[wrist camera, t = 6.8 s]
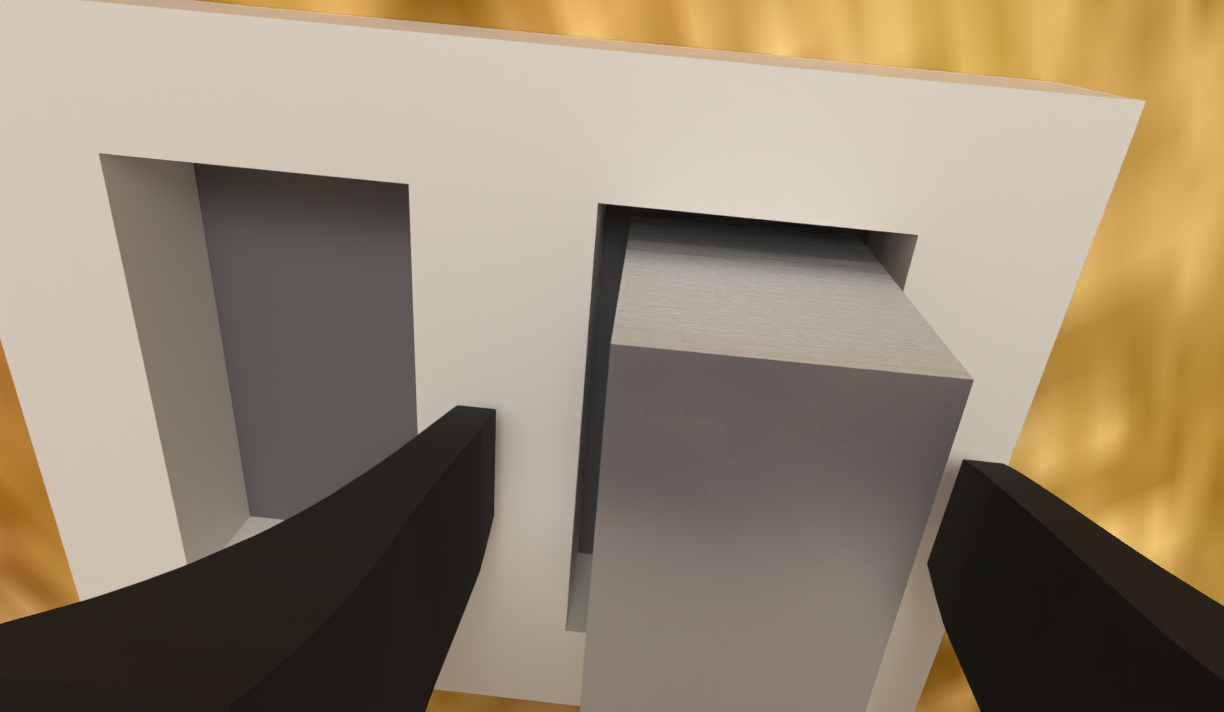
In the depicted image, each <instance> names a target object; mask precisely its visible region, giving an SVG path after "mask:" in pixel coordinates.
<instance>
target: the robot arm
mask: <svg viewBox="0 0 1224 712" xmlns="http://www.w3.org/2000/svg"><path fill="white" fill-rule="evenodd" d="M495 441H496V409H490V408H481V407H471V406H462V405H457V406H455V407H454V408H453V409H451V410H450V411H448V412H447V413H446V414H444V415H443V416H442V417H441V418H439V419H438V420H437V421H435V422H434V423H433V424H431V425H430V426H429V427H427V428H426V429H425V430H423V431H422V432H421V433H419V434H418V435H417V436H415V437H414V438H413V439H412V440H410V441H409V442H408V443H406V444H405V445H404V446H402V447H401V448H399V449H398V450H397V451H395V452H394V453H393V454H391V455H390V456H388V457H387V458H386V459H384V460H383V461H381V462H380V463H379V464H377V465H376V466H374V467H373V468H371V469H370V470H368V471H367V472H365V473H363V474H362V475H360V476H359V477H357V478H356V479H354V480H353V481H351V482H350V483H348V484H346V485H345V486H343V487H342V488H340V489H339V490H337V491H336V492H334V493H333V494H331V495H329V496H328V497H326V498H324V499H323V500H321V501H319V502H318V503H316V504H314V505H312V506H310V507H309V508H307V509H305V510H303V511H302V512H300V513H298V514H296V515H294V516H292V517H290V518H288V519H286V520H284V521H282V522H280V523H279V524H277V525H275V526H273V527H271V528H269V529H267V530H265V531H263V532H261V533H259V534H257V535H254V536H252V537H250V538H248V539H245V540H243V541H241V542H238V543H236V544H234V545H231V546H229V547H227V548H225V549H222V550H220V551H218V552H215V553H213V554H211V555H208V556H206V557H204V558H201V559H199V560H197V561H195V562H192V563H190V564H187V565H185V566H182V567H180V568H177V569H174V570H172V571H169V572H166V573H163V574H161V575H158V576H155V577H153V578H150V579H147V580H144V581H142V582H139V583H136V584H133V585H130V586H127V587H124V588H121V589H118V590H115V591H112V592H109V593H106V594H103V595H100V596H97V597H93V598H90V599H87V600H84V601H81V602H77V603H74V604H70V605H67V606H63V607H59V608H56V609H52V610H49V611H45V612H41V613H38V614H34V615H31V616H27V617H23V618H20V619H16V620H12V621H9V622H5V623H2V624H0V712H425V711H426V708H427V705H428V702H429V700H430V697H431V694H432V692H433V689H434V687H435V684H436V682H437V679H438V677H439V674H440V672H441V669H442V667H443V664H444V662H445V659H446V657H447V654H448V651H449V649H450V646H451V644H452V641H453V639H454V636H455V634H456V631H457V629H458V626H459V624H460V621H461V619H462V616H463V614H464V611H465V609H466V606H467V604H468V601H469V599H470V596H471V593H472V591H473V588H474V586H475V583H476V581H477V578H478V575H479V573H480V570H481V566H482V562H483V558H484V554H485V551H486V547H487V543H488V539H489V535H490V531H491V527H492V523H493V518H494V499H495ZM927 566H928V570H929V574H930V578H931V582H932V586H933V590H934V594H935V598H936V601H937V604H938V608H939V611H940V615H941V618H942V621H943V624H944V627H945V629H946V632H947V634H948V637H949V639H950V641H951V644H952V646H953V648H954V651H955V653H956V655H957V658H958V660H959V662H960V665H961V667H962V669H963V672H964V674H965V676H966V679H967V681H968V683H969V685H970V688H971V690H972V692H973V695H974V697H975V699H976V701H977V704H978V706H979V708H980V710H981V712H1224V606H1223V605H1221V604H1219V603H1218V602H1216V601H1214V600H1213V599H1211V598H1209V597H1208V596H1206V595H1205V594H1203V593H1201V592H1200V591H1198V590H1197V589H1195V588H1193V587H1192V586H1190V585H1189V584H1187V583H1185V582H1184V581H1182V580H1181V579H1179V578H1177V577H1176V576H1174V575H1173V574H1171V573H1169V572H1168V571H1166V570H1165V569H1163V568H1161V567H1160V566H1158V565H1157V564H1155V563H1154V562H1152V561H1151V560H1149V559H1148V558H1146V557H1145V556H1143V555H1142V554H1140V553H1139V552H1137V551H1136V550H1134V549H1133V548H1131V547H1130V546H1128V545H1127V544H1125V543H1124V542H1122V541H1121V540H1119V539H1118V538H1116V537H1115V536H1113V535H1112V534H1110V533H1109V532H1107V531H1106V530H1105V529H1103V528H1102V527H1100V526H1099V525H1097V524H1096V523H1094V522H1093V521H1091V520H1090V519H1089V518H1087V517H1086V516H1084V515H1083V514H1081V513H1080V512H1078V511H1077V510H1075V509H1074V508H1073V507H1071V506H1070V505H1068V504H1067V503H1065V502H1064V501H1062V500H1061V499H1059V498H1058V497H1057V496H1055V495H1054V494H1052V493H1051V492H1049V491H1048V490H1046V489H1045V488H1043V487H1042V486H1040V485H1039V484H1037V483H1036V482H1034V481H1032V480H1031V479H1029V478H1028V477H1026V476H1025V475H1023V474H1021V473H1020V472H1018V471H1016V470H1015V469H1013V468H1011V467H1009V466H1007V465H1005V464H1003V463H995V462H985V461H976V460H967V459H963V460H962V463H961V466H960V469H959V472H958V475H957V478H956V481H955V483H954V486H953V489H952V492H951V495H950V498H949V501H948V504H947V507H946V509H945V512H944V515H943V518H942V521H941V524H940V527H939V530H938V533H937V536H936V538H935V541H934V544H933V547H932V550H931V553H930V556H929V559H928V562H927Z"/></svg>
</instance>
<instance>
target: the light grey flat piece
mask: <svg viewBox="0 0 1224 712" xmlns="http://www.w3.org/2000/svg"><path fill="white" fill-rule="evenodd" d="M1145 102H1146V101H1143V100H1138V99H1134V98H1129V97H1124V96H1119V95H1115V94H1110V93H1105V92H1101V91H1096V90H1091V89H1086V88H1082V87H1077V86H1072V85H1068V84H1063V83H1058V82H1053V81H1042V80H1032V79H1021V78H1011V77H1000V76H989V75H979V74H968V73H957V72H947V71H936V70H926V69H915V68H904V67H894V66H883V65H873V64H862V63H851V62H841V61H830V60H820V59H809V58H798V57H788V56H777V55H767V54H756V53H745V52H735V51H724V50H714V49H703V48H692V47H682V46H671V45H660V44H650V43H639V42H629V41H618V40H607V39H597V38H586V37H576V36H565V35H554V34H544V33H533V32H523V31H512V30H501V29H491V28H480V27H470V26H459V25H448V24H438V23H427V22H417V21H406V20H395V19H385V18H374V17H363V16H353V15H342V14H332V13H321V12H310V11H300V10H289V9H279V8H268V7H257V6H247V5H236V4H226V3H215V2H204V1H194V0H0V339H1V342H2V346H3V349H4V352H5V355H6V359H7V362H8V365H9V369H10V372H11V375H12V378H13V382H14V385H15V388H16V392H17V395H18V398H19V401H20V405H21V408H22V411H23V415H24V418H25V421H26V424H27V428H28V431H29V434H30V438H31V441H32V444H33V447H34V451H35V454H36V457H37V461H38V464H39V467H40V470H41V474H42V477H43V480H44V484H45V487H46V490H47V494H48V497H49V500H50V503H51V507H52V510H53V513H54V517H55V520H56V523H57V526H58V530H59V533H60V536H61V540H62V543H63V546H64V549H65V553H66V556H67V559H68V563H69V566H70V569H71V572H72V576H73V579H74V582H75V586H76V589H77V592H78V595H79V599H80V602H81V601H84V600H87V599H90V598H93V597H97V596H100V595H103V594H106V593H109V592H112V591H115V590H118V589H121V588H124V587H127V586H130V585H133V584H136V583H139V582H142V581H144V580H147V579H150V578H153V577H155V576H158V575H161V574H163V573H166V572H169V571H172V570H174V569H177V568H180V567H182V566H185V565H187V564H190V563H192V562H195V561H197V560H199V559H201V558H204V557H206V556H208V555H211V554H213V553H215V552H218V551H220V550H222V549H225V548H227V547H229V546H231V545H234V544H236V543H238V542H241V541H243V540H245V539H248V538H250V537H252V536H254V535H257V534H259V533H261V532H263V531H265V530H267V529H269V528H271V527H273V526H275V525H277V524H279V523H280V522H282V521H284V520H286V519H288V518H290V517H292V516H294V515H296V514H298V513H300V512H302V511H303V510H305V509H307V508H309V507H310V506H312V505H314V504H316V503H318V502H319V501H321V500H323V499H324V498H326V497H328V496H329V495H331V494H333V493H334V492H336V491H337V490H339V489H340V488H342V487H343V486H345V485H346V484H348V483H350V482H351V481H353V480H354V479H356V478H357V477H359V476H360V475H362V474H363V473H365V472H367V471H368V470H370V469H371V468H373V467H374V466H376V465H377V464H379V463H380V462H381V461H383V460H384V459H386V458H387V457H388V456H390V455H391V454H393V453H394V452H395V451H397V450H398V449H399V448H401V447H402V446H404V445H405V444H406V443H408V442H409V441H410V440H412V439H413V438H414V437H415V436H417V435H418V434H419V433H421V432H422V431H423V430H425V429H426V428H427V427H429V426H430V425H431V424H433V423H434V422H435V421H437V420H438V419H439V418H441V417H442V416H443V415H444V414H446V413H447V412H448V411H450V410H451V409H453V408H454V407H455V406H457V405H462V406H471V407H481V408H490V409H496V441H495V499H494V518H493V523H492V527H491V531H490V535H489V539H488V543H487V547H486V551H485V554H484V558H483V562H482V566H481V570H480V573H479V575H478V578H477V581H476V583H475V586H474V588H473V591H472V593H471V596H470V599H469V601H468V604H467V606H466V609H465V611H464V614H463V616H462V619H461V621H460V624H459V626H458V629H457V631H456V634H455V636H454V639H453V641H452V644H451V646H450V649H449V651H448V654H447V657H446V659H445V662H444V664H443V667H442V669H441V672H440V674H439V677H438V679H437V682H436V684H435V687H434V689H437V690H445V691H454V692H462V693H471V694H479V695H488V696H497V697H505V698H514V699H522V700H531V701H540V702H548V703H557V704H565V705H574V706H580V700H581V688H582V676H583V664H584V652H585V641H586V629H587V617H588V605H589V593H590V582H591V570H592V558H593V546H594V534H595V522H596V511H597V499H598V487H599V475H600V463H601V452H602V440H603V428H604V416H605V404H606V392H607V381H608V369H609V357H610V345H611V338H612V332H613V326H614V320H615V314H616V308H617V302H618V296H619V290H620V284H621V278H622V272H623V266H624V260H625V254H626V248H627V242H628V236H629V230H630V224H631V218H632V212H633V207H643V208H653V209H663V210H673V211H683V212H693V213H703V214H713V215H723V216H733V217H744V218H754V219H764V220H774V221H784V222H794V223H804V224H814V225H824V226H834V227H844V228H852V229H853V230H854V231H855V233H856V234H857V235H858V236H859V238H860V239H861V240H862V241H863V243H864V244H865V245H866V246H867V248H868V249H869V250H870V251H871V253H872V254H873V255H874V256H875V258H876V259H877V260H878V261H879V262H880V264H881V265H882V266H883V267H884V269H885V270H886V271H887V272H888V274H889V275H890V276H891V277H892V279H893V280H894V281H895V282H896V284H897V285H898V286H899V287H900V289H901V290H902V291H903V292H904V293H905V295H906V296H907V297H908V298H909V300H910V301H911V302H912V303H913V305H914V306H915V307H916V308H917V310H918V311H919V312H920V313H921V315H922V316H923V317H924V318H925V320H926V321H927V322H928V323H929V325H930V326H931V327H932V328H933V329H934V331H935V332H936V333H937V334H938V336H939V337H940V338H941V339H942V341H943V342H944V343H945V344H946V346H947V347H948V348H949V349H950V351H951V352H952V353H953V354H954V356H955V357H956V358H957V359H958V360H959V362H960V363H961V364H962V365H963V367H964V368H965V369H966V370H967V372H968V373H969V374H970V375H971V377H972V378H973V379H974V381H973V385H972V388H971V391H970V394H969V397H968V400H967V403H966V406H965V409H964V412H963V415H962V418H961V421H960V424H959V427H958V430H957V433H956V436H955V439H954V442H953V445H952V449H951V452H950V455H949V458H948V461H947V464H946V467H945V470H944V473H943V476H942V479H941V482H940V485H939V488H938V491H937V494H936V497H935V500H934V503H933V506H932V510H931V513H930V516H929V519H928V522H927V525H926V528H925V531H924V534H923V537H922V540H921V543H920V546H919V549H918V552H917V555H916V558H915V561H914V564H913V567H912V570H911V574H910V577H909V580H908V583H907V586H906V589H905V592H904V595H903V598H902V601H901V604H900V607H899V610H898V613H897V616H896V619H895V622H894V625H893V628H892V631H891V634H890V638H889V641H888V644H887V647H886V650H885V653H884V656H883V659H882V662H881V665H880V668H879V671H878V674H877V677H876V680H875V683H874V686H873V689H872V692H871V695H870V699H869V702H868V705H867V708H866V711H865V712H915V709H916V706H917V704H918V701H919V699H920V696H921V693H922V691H923V688H924V685H925V683H926V680H927V677H928V675H929V672H930V669H931V667H932V664H933V662H934V659H935V656H936V654H937V651H938V648H939V646H940V643H941V640H942V638H943V635H944V633H945V630H946V629H945V627H944V624H943V621H942V618H941V615H940V611H939V608H938V604H937V601H936V598H935V594H934V590H933V586H932V582H931V578H930V574H929V570H928V566H927V562H928V559H929V556H930V553H931V550H932V547H933V544H934V541H935V538H936V536H937V533H938V530H939V527H940V524H941V521H942V518H943V515H944V512H945V509H946V507H947V504H948V501H949V498H950V495H951V492H952V489H953V486H954V483H955V481H956V478H957V475H958V472H959V469H960V466H961V463H962V460H963V459H967V460H976V461H985V462H995V463H1003V464H1005V465H1007V466H1008V464H1009V461H1010V458H1011V456H1012V453H1013V450H1014V448H1015V445H1016V443H1017V440H1018V437H1019V435H1020V432H1021V429H1022V427H1023V424H1024V421H1025V419H1026V416H1027V414H1028V411H1029V408H1030V406H1031V403H1032V400H1033V398H1034V395H1035V392H1036V390H1037V387H1038V385H1039V382H1040V379H1041V377H1042V374H1043V371H1044V369H1045V366H1046V363H1047V361H1048V358H1049V356H1050V353H1051V350H1052V348H1053V345H1054V342H1055V340H1056V337H1057V334H1058V332H1059V329H1060V326H1061V324H1062V321H1063V319H1064V316H1065V313H1066V311H1067V308H1068V305H1069V303H1070V300H1071V297H1072V295H1073V292H1074V290H1075V287H1076V284H1077V282H1078V279H1079V276H1080V274H1081V271H1082V268H1083V266H1084V263H1085V261H1086V258H1087V255H1088V253H1089V250H1090V247H1091V245H1092V242H1093V239H1094V237H1095V234H1096V232H1097V229H1098V226H1099V224H1100V221H1101V218H1102V216H1103V213H1104V210H1105V208H1106V205H1107V202H1108V200H1109V197H1110V195H1111V192H1112V189H1113V187H1114V184H1115V181H1116V179H1117V176H1118V173H1119V171H1120V168H1121V166H1122V163H1123V160H1124V158H1125V155H1126V152H1127V150H1128V147H1129V144H1130V142H1131V139H1132V137H1133V134H1134V131H1135V129H1136V126H1137V123H1138V121H1139V118H1140V115H1141V113H1142V110H1143V107H1144V105H1145Z"/></svg>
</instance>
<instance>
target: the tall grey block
mask: <svg viewBox="0 0 1224 712" xmlns="http://www.w3.org/2000/svg"><path fill="white" fill-rule="evenodd" d="M973 381H974V379H973V378H972V377H971V375H970V374H969V373H968V372H967V370H966V369H965V368H964V367H963V365H962V364H961V363H960V362H959V360H958V359H957V358H956V357H955V356H954V354H953V353H952V352H951V351H950V349H949V348H948V347H947V346H946V344H945V343H944V342H943V341H942V339H941V338H940V337H939V336H938V334H937V333H936V332H935V331H934V329H933V328H932V327H931V326H930V325H929V323H928V322H927V321H926V320H925V318H924V317H923V316H922V315H921V313H920V312H919V311H918V310H917V308H916V307H915V306H914V305H913V303H912V302H911V301H910V300H909V298H908V297H907V296H906V295H905V293H904V292H903V291H902V290H901V289H900V287H899V286H898V285H897V284H896V282H895V281H894V280H893V279H892V277H891V276H890V275H889V274H888V272H887V271H886V270H885V269H884V267H883V266H882V265H881V264H880V262H879V261H878V260H877V259H876V258H875V256H874V255H873V254H872V253H871V251H870V250H869V249H868V248H867V246H866V245H865V244H864V243H863V241H862V240H861V239H860V238H859V236H858V235H857V234H856V233H855V231H854V230H853V229H852V228H844V227H834V226H824V225H814V224H804V223H794V222H784V221H774V220H764V219H754V218H744V217H733V216H723V215H713V214H703V213H693V212H683V211H673V210H663V209H653V208H643V207H633V212H632V218H631V224H630V230H629V236H628V242H627V248H626V254H625V260H624V266H623V272H622V278H621V284H620V290H619V296H618V302H617V308H616V314H615V320H614V326H613V332H612V338H611V345H610V357H609V369H608V381H607V392H606V404H605V416H604V428H603V440H602V452H601V463H600V475H599V487H598V499H597V511H596V522H595V534H594V546H593V558H592V570H591V582H590V593H589V605H588V617H587V629H586V641H585V652H584V664H583V676H582V688H581V700H580V712H865V711H866V708H867V705H868V702H869V699H870V695H871V692H872V689H873V686H874V683H875V680H876V677H877V674H878V671H879V668H880V665H881V662H882V659H883V656H884V653H885V650H886V647H887V644H888V641H889V638H890V634H891V631H892V628H893V625H894V622H895V619H896V616H897V613H898V610H899V607H900V604H901V601H902V598H903V595H904V592H905V589H906V586H907V583H908V580H909V577H910V574H911V570H912V567H913V564H914V561H915V558H916V555H917V552H918V549H919V546H920V543H921V540H922V537H923V534H924V531H925V528H926V525H927V522H928V519H929V516H930V513H931V510H932V506H933V503H934V500H935V497H936V494H937V491H938V488H939V485H940V482H941V479H942V476H943V473H944V470H945V467H946V464H947V461H948V458H949V455H950V452H951V449H952V445H953V442H954V439H955V436H956V433H957V430H958V427H959V424H960V421H961V418H962V415H963V412H964V409H965V406H966V403H967V400H968V397H969V394H970V391H971V388H972V385H973Z"/></svg>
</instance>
